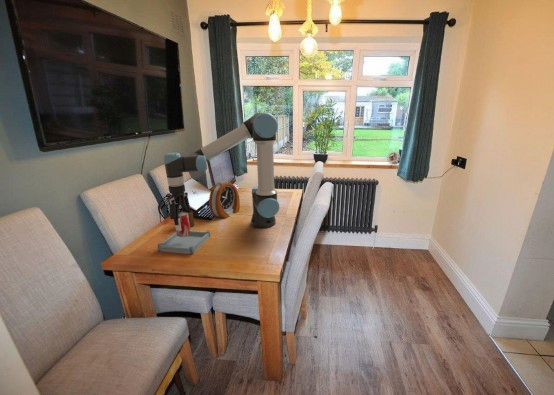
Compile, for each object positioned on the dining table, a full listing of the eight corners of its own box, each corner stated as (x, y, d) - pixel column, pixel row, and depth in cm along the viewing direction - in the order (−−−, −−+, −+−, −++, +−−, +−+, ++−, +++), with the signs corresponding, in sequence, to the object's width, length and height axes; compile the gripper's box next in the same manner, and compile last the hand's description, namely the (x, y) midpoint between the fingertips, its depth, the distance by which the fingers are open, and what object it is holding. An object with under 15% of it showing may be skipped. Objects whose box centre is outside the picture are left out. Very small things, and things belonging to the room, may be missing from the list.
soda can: (191, 236, 135) (187, 215, 132) (176, 239, 134) (172, 217, 130) (191, 231, 142) (188, 210, 138) (177, 233, 140) (174, 212, 136)
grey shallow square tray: (210, 236, 146) (209, 230, 145) (192, 254, 128) (191, 247, 127) (179, 234, 150) (178, 228, 149) (158, 251, 133) (157, 244, 131)
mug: (179, 232, 153) (177, 217, 150) (172, 229, 157) (170, 214, 154) (197, 225, 162) (195, 211, 159) (189, 222, 166) (187, 208, 163)
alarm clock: (221, 220, 168) (218, 186, 160) (210, 218, 172) (206, 184, 165) (242, 209, 186) (240, 178, 179) (231, 207, 190) (229, 177, 183)
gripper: (180, 179, 139) (186, 219, 146) (156, 190, 121) (164, 235, 128) (193, 179, 138) (199, 220, 145) (171, 190, 119) (178, 236, 126)
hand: (182, 227), depth 136 cm, fingers closed on soda can, 7 cm apart
